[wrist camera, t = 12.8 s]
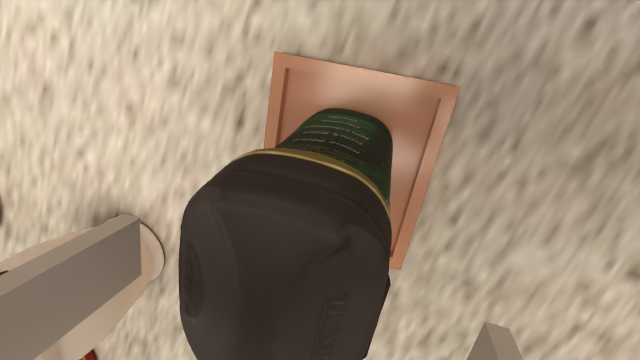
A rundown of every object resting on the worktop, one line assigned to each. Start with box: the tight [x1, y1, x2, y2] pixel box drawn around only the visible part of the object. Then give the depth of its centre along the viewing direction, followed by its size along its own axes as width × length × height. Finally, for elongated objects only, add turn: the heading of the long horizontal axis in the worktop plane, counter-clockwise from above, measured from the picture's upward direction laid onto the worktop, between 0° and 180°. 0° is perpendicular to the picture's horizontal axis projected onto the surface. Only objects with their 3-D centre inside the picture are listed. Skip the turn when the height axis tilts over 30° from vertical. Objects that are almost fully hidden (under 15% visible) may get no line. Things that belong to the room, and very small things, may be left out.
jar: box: [0, 217, 164, 360], centre depth 30 cm, size 11×10×15 cm
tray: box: [264, 52, 460, 270], centre depth 27 cm, size 14×16×2 cm
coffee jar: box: [179, 108, 393, 360], centre depth 18 cm, size 10×8×19 cm
